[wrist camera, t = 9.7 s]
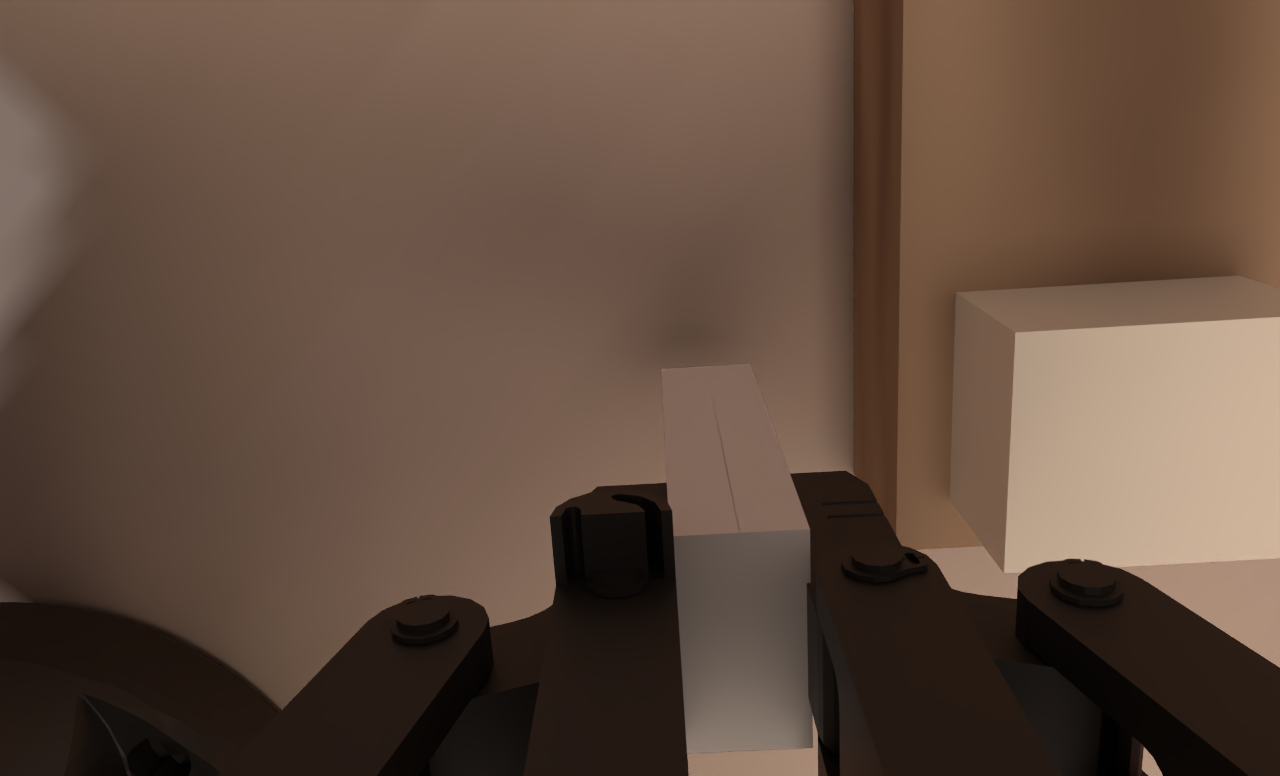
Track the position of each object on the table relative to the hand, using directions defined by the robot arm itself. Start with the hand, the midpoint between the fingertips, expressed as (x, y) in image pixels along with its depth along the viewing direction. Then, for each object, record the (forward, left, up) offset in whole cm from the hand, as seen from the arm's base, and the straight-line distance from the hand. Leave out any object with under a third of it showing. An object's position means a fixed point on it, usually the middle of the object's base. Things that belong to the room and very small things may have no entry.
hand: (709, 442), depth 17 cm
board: (+8, +3, -6) cm, 10 cm away
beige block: (+7, 0, -2) cm, 7 cm away
